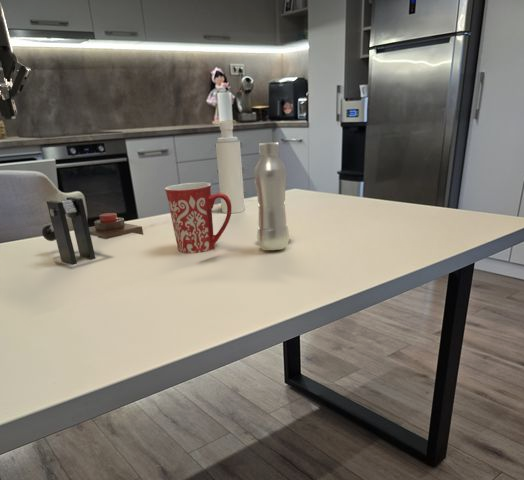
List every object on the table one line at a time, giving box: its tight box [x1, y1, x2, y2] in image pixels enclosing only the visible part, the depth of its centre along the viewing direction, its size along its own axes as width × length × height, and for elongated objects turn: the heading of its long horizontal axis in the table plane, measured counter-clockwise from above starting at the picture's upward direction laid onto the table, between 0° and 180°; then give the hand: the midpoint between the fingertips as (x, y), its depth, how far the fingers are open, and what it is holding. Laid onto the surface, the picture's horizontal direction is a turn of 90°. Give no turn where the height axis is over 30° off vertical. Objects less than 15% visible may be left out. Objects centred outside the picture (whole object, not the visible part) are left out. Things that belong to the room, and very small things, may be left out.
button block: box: [89, 216, 144, 240], centre depth 117 cm, size 12×10×4 cm
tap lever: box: [41, 199, 77, 242], centre depth 95 cm, size 14×3×3 cm, turn 48°
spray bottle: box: [215, 120, 246, 214], centre depth 133 cm, size 7×7×25 cm
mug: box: [164, 181, 232, 254], centre depth 95 cm, size 13×9×14 cm
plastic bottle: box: [253, 142, 290, 251], centre depth 93 cm, size 6×7×20 cm
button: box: [99, 212, 118, 222], centre depth 115 cm, size 4×4×2 cm
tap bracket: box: [46, 196, 96, 266], centre depth 92 cm, size 10×8×13 cm
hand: (10, 119), depth 101 cm, fingers closed
